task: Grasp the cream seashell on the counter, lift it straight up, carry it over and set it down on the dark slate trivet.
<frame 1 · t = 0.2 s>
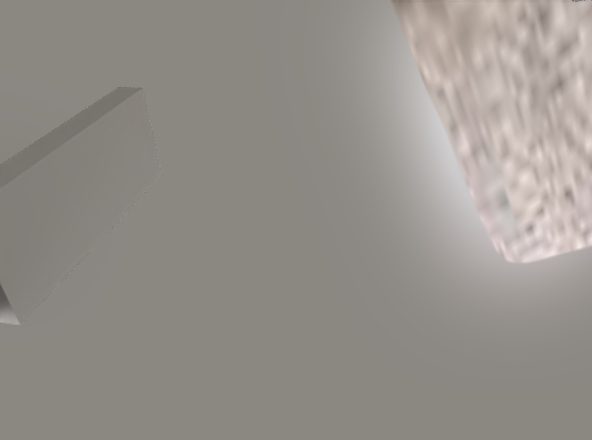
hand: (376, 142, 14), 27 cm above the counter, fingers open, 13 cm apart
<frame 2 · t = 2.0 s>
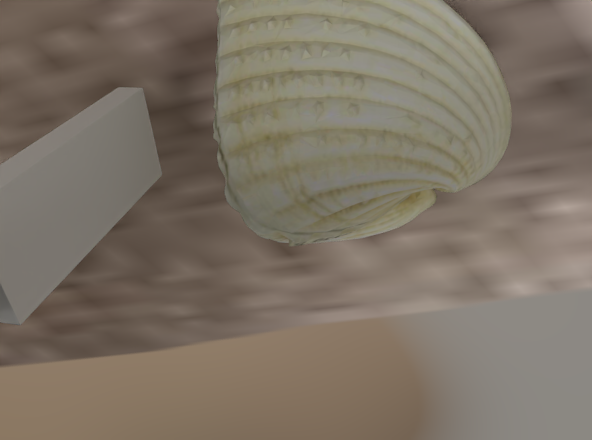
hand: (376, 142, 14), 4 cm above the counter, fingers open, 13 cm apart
seashell: (367, 74, 18), on the counter
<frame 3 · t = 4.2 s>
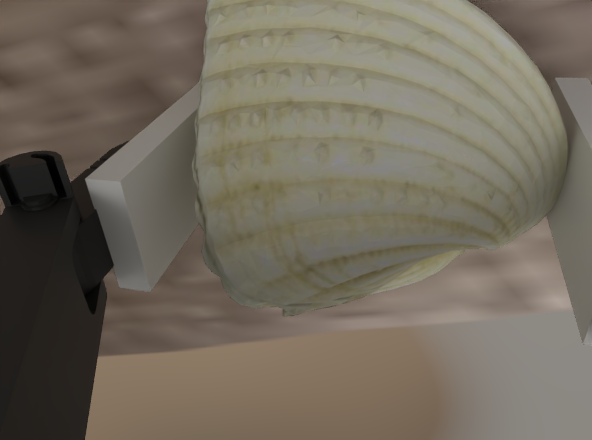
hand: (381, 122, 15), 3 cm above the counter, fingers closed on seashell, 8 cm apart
seashell: (387, 95, 15), point 2 cm above the counter, touching gripper
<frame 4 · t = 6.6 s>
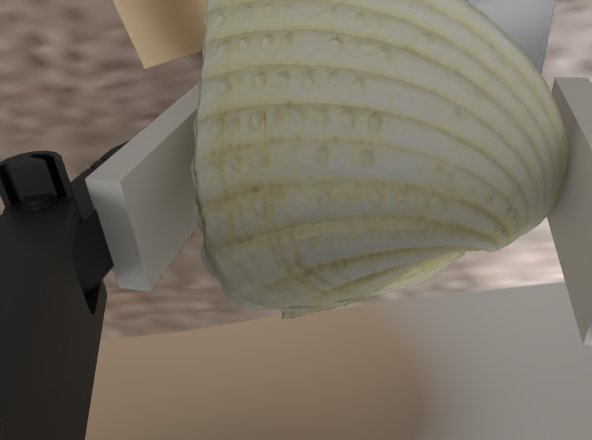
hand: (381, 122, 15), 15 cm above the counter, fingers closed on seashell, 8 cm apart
slate trivet: (410, 11, 26), on the counter
seashell: (387, 97, 15), point 14 cm above the counter, touching gripper
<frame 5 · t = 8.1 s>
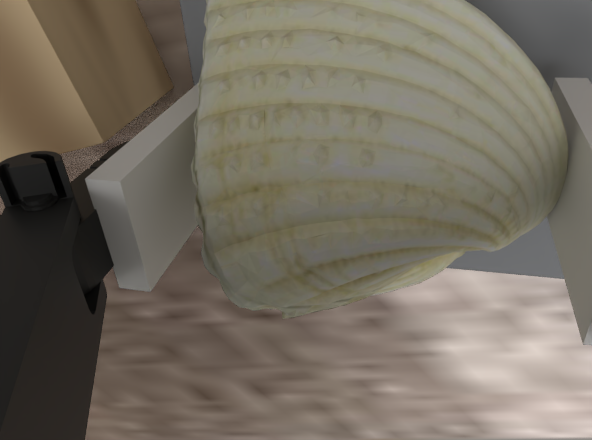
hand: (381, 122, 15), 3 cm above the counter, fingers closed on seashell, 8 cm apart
oak block: (89, 38, 19), on the counter
slate trivet: (389, 84, 17), on the counter
seashell: (387, 97, 15), point 3 cm above the counter, touching gripper
when the fingers open (2 cm above the counter, at t = 9.2 s): seashell stays where it is, resting on slate trivet.
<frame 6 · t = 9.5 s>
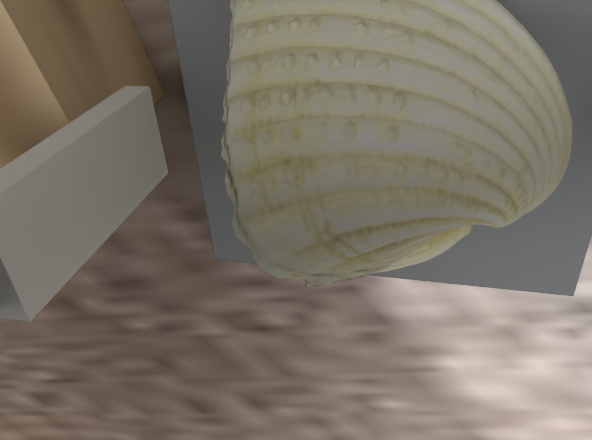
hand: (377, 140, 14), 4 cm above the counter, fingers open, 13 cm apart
oak block: (77, 44, 18), on the counter
slate trivet: (389, 93, 17), on the counter
seashell: (397, 84, 15), point 1 cm above the counter, touching slate trivet
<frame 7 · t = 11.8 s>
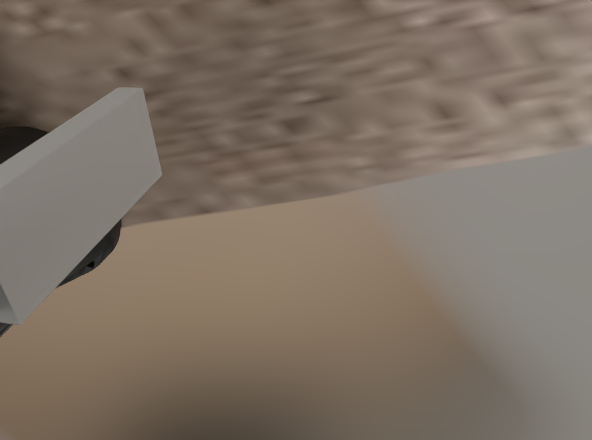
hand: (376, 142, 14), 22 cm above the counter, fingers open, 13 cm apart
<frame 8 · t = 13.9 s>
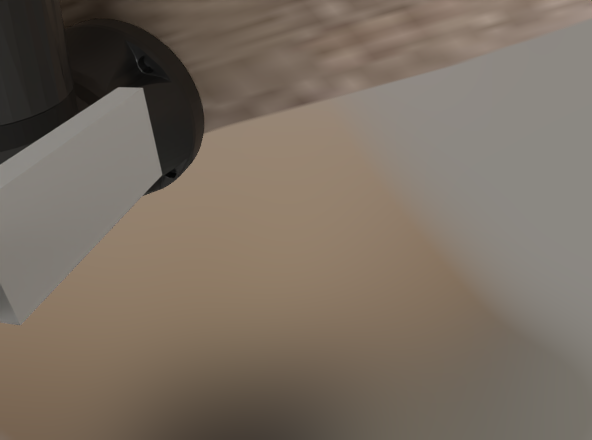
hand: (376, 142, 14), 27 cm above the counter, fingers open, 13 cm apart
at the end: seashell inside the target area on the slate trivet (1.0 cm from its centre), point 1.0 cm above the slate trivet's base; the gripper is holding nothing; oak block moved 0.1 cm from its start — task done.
